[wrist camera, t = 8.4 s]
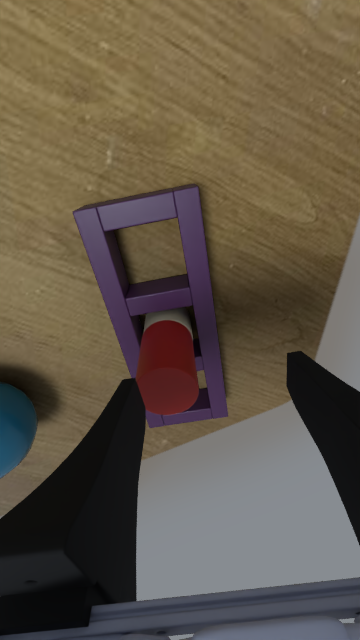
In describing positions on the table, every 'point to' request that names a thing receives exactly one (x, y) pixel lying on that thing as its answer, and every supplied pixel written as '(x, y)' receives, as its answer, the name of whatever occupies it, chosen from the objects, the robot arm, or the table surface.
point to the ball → (15, 427)
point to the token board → (158, 286)
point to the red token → (167, 368)
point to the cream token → (170, 317)
